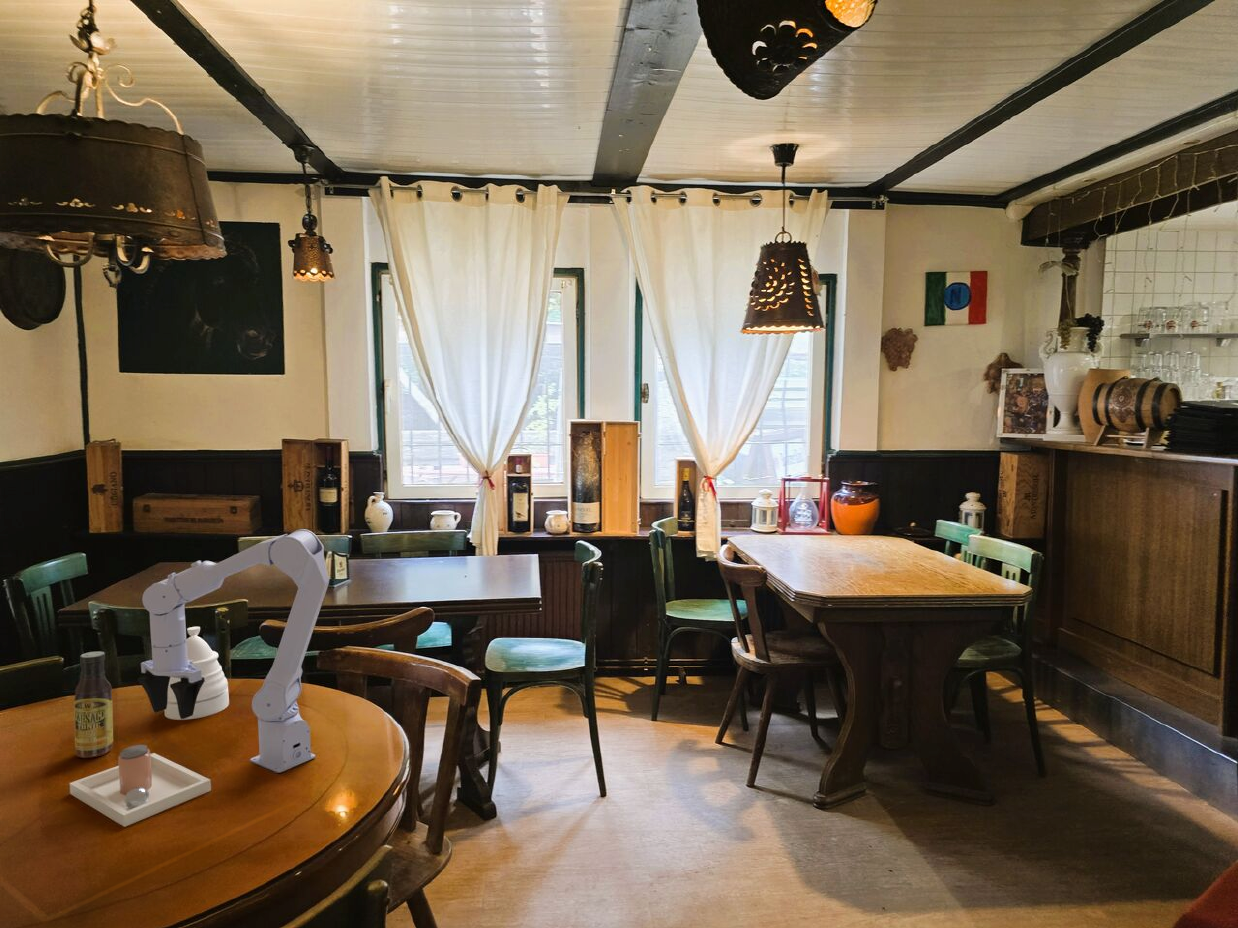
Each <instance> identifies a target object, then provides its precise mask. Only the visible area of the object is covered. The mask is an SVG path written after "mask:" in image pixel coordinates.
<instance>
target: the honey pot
mask: <svg viewBox="0 0 1238 928" xmlns="http://www.w3.org/2000/svg"><path fill="white" fill-rule="evenodd" d="M200 631H201V627H200V626H192V627H190V626H189V627H188V628H186V632H187V634H188V635H189V637H188V638H187V637H186V641H187V658H188V660H192V661H193V664H192V665H193V666H194V667H195V668H197V669H200V670H201V676H202V677H204V679H205V682H204V683H203V685H202V687H201V689H200V691H199V693H198V696H197V699H196V703H195V707H194V712H193V715H192V716H190V717H187V718H185V719H181V718H180V715H179V711H178V704H177V700H176V697H175V694H174V692H173V690H172V689H171V687H170V684H173V683H176V682H179V681H181V679H179V678H174V677H170V681H169V685H168V701H167V708H166V709H165V710H163V711H164V717H166V718H167V719H169V720H177V721H185V720H194V719H200V718H204V717H208V716H212V715H214V714H217V713H219V712H221V711H223V710H225V709H226V708H227V707H228V706H229V705H230V699H229V698H230V697H229V696H230V695H229V682H228V679H227V677H226V676H225V673H224V671H223V668H222V665H221V664H220V663H219V661H218V658H219V653H218V652H217V651H215V650H212V648H211V646H209V643H207V642H206V641H205V640H204V639H203V638H202V637H200V636H198V635H199V634H200Z"/></svg>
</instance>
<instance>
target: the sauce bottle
mask: <svg viewBox="0 0 1238 928" xmlns="http://www.w3.org/2000/svg"><path fill="white" fill-rule="evenodd" d="M105 660H106V653H105V652H104V651H100V650H99V651H89V652H86V653H82V654H81V655H80V656H79V663H80V665H81V669H80V671H81V675H80V679H79V682H78V684H77V685H76V687H75V691H74V693H75V694H74V701H73V704H74V705H73V707H74V708H73V709H74V711H73V713H74V715H73V716H74V748H75V754H76V757H78V758H82V759H90V758H91V759H92V758H95V757H101V756H104V755H106V754H107V753H109V752H111V750H112V749H113V743H114V732H113V731H114V725H113V723H114V722H113V719H114V718H113V715H114V714H113V697H112V685H111V683H110V682H109V681H108V679H107V677H106V676H105V674H106V671H105Z"/></svg>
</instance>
